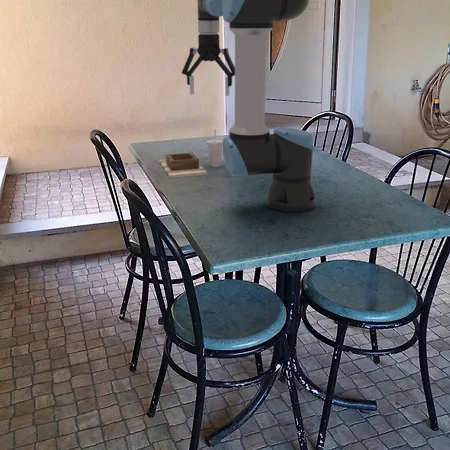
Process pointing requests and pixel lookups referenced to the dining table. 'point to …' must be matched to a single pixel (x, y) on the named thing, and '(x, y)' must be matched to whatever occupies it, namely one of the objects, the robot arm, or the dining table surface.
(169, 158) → the socket board
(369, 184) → the dining table surface
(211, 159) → the smoothie
